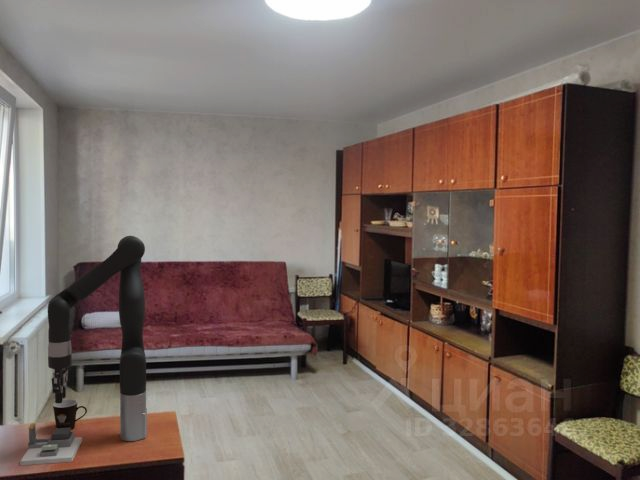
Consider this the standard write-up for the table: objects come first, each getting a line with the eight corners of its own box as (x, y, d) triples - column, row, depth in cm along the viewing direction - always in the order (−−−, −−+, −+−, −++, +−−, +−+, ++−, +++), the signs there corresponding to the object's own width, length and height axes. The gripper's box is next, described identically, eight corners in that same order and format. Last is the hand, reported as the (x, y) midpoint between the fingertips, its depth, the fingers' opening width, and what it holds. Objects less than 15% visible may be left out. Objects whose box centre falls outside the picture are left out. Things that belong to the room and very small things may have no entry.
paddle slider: (36, 441, 198) (36, 423, 197) (34, 446, 194) (33, 427, 194) (30, 442, 197) (30, 423, 197) (28, 446, 194) (27, 427, 193)
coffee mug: (48, 430, 211) (47, 405, 211) (66, 422, 219) (65, 397, 219) (71, 436, 207) (71, 410, 206) (88, 427, 215) (88, 402, 214)
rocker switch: (57, 447, 191) (57, 443, 191) (55, 449, 189) (55, 446, 189) (43, 448, 190) (43, 444, 190) (41, 450, 188) (41, 447, 188)
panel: (81, 441, 203) (81, 430, 203) (72, 461, 188) (71, 450, 187) (34, 444, 200) (34, 433, 199) (20, 465, 184) (20, 454, 184)
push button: (70, 435, 201) (70, 427, 201) (67, 441, 196) (67, 433, 196) (55, 436, 200) (55, 428, 200) (51, 442, 195) (51, 434, 194)
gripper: (66, 358, 189) (67, 407, 191) (75, 347, 203) (76, 392, 204) (42, 359, 188) (43, 408, 189) (53, 348, 201) (54, 394, 203)
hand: (60, 400), depth 197 cm, fingers open, 4 cm apart
